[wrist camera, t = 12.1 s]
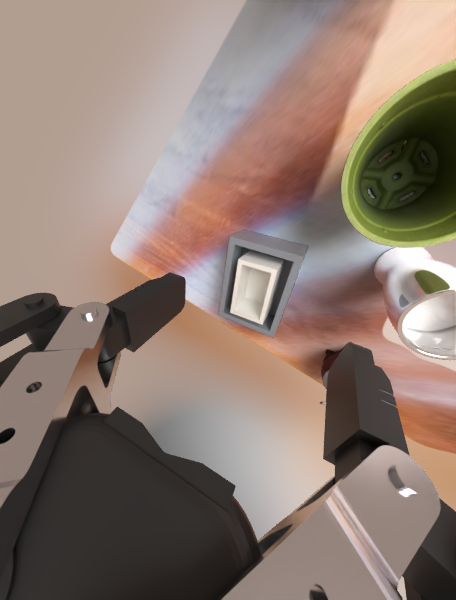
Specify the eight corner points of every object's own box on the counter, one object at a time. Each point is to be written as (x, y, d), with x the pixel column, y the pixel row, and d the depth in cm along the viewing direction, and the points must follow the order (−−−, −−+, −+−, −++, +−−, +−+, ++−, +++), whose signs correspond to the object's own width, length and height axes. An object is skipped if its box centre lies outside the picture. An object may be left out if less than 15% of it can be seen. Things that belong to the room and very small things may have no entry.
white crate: (242, 297, 40) (230, 312, 35) (251, 249, 34) (238, 259, 30) (271, 307, 38) (262, 324, 33) (285, 257, 33) (277, 270, 28)
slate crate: (231, 300, 43) (218, 315, 38) (244, 229, 34) (229, 236, 30) (280, 319, 39) (273, 337, 35) (308, 246, 31) (303, 257, 27)
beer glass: (360, 279, 30) (376, 338, 18) (390, 234, 26) (435, 272, 15) (410, 297, 29) (464, 375, 17) (451, 252, 25) (559, 312, 13)
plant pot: (506, 133, 19) (653, 87, 10) (401, 243, 26) (435, 272, 17) (388, 90, 21) (427, 19, 12) (319, 203, 28) (312, 211, 19)
